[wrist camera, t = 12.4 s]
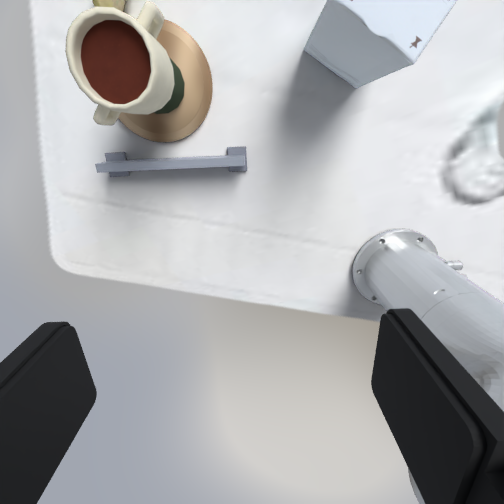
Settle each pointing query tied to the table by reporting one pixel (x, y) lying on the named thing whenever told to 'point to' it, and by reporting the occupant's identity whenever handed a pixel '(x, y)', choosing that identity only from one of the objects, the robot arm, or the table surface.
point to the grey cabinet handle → (172, 162)
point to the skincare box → (374, 35)
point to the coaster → (195, 91)
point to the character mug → (123, 63)
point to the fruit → (110, 3)
